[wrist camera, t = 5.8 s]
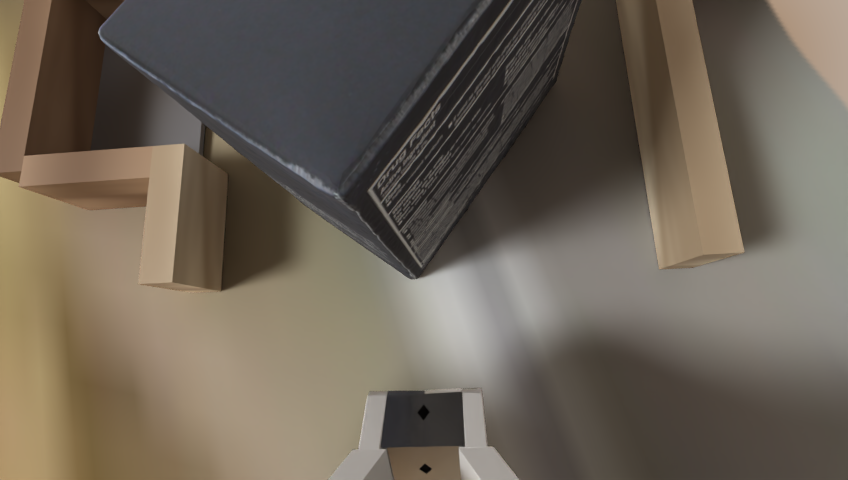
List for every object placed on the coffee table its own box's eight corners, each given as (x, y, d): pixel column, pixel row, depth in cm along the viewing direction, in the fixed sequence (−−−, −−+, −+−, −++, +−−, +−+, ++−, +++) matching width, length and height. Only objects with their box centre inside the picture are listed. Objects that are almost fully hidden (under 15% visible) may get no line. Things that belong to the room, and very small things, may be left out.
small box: (433, 11, 19) (403, -351, 9) (560, 79, 18) (689, -251, 8) (290, 198, 18) (66, 19, 8) (417, 286, 17) (349, 209, 7)
